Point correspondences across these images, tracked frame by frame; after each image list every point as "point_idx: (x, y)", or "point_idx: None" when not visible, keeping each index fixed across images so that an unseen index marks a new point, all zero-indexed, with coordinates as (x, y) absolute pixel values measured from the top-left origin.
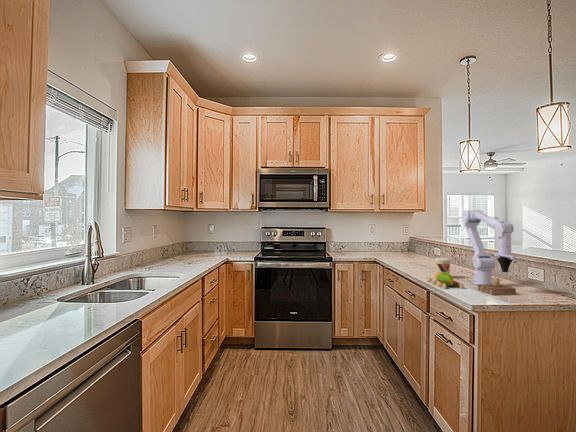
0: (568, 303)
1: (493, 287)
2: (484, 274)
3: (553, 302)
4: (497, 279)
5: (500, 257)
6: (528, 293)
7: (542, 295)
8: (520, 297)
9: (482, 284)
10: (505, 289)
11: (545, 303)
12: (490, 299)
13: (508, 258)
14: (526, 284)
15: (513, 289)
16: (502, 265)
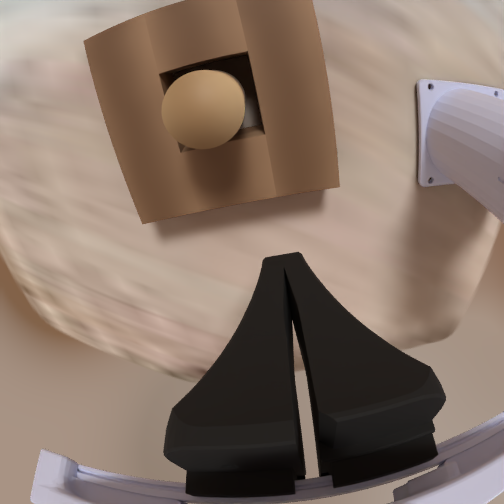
0: (58, 325)
1: (147, 63)
2: (489, 135)
3: (46, 291)
4: (163, 116)
5: (415, 448)
6: (213, 282)
7: (176, 318)
8: (82, 200)
9: (296, 12)
10: (116, 146)
11: (15, 257)
12: (3, 35)
13: (163, 485)
14: (426, 339)
15: (137, 205)
16: (268, 319)
